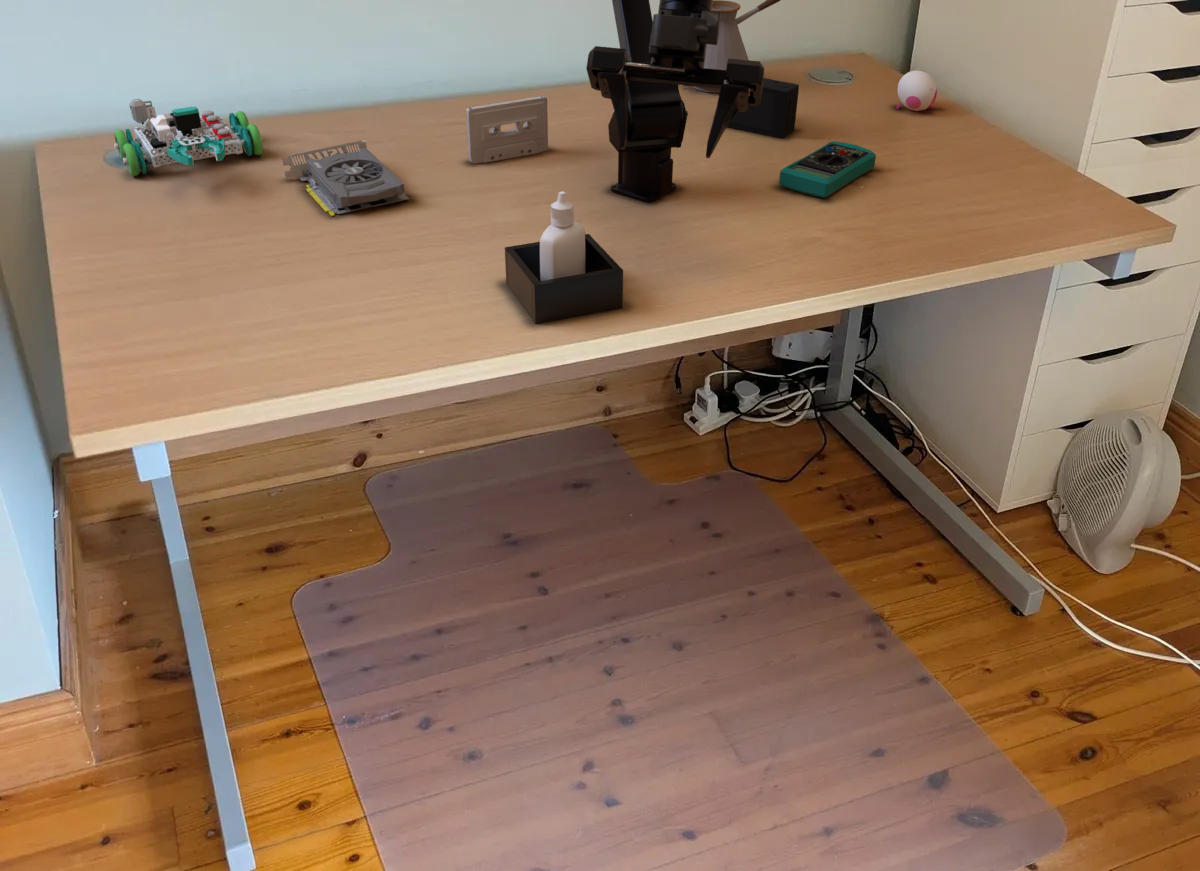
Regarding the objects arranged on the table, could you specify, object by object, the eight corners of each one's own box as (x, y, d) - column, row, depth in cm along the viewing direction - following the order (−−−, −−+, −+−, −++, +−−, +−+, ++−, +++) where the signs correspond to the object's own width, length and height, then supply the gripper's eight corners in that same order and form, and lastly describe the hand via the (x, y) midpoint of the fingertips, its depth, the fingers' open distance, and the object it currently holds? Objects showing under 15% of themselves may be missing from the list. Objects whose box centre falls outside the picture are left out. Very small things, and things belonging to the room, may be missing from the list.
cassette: (472, 165, 157) (469, 111, 153) (467, 161, 158) (463, 107, 154) (550, 151, 162) (549, 98, 158) (544, 147, 163) (543, 94, 159)
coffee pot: (701, 100, 181) (707, 2, 173) (668, 80, 190) (672, -14, 181) (813, 84, 189) (824, -11, 180) (776, 65, 197) (785, -26, 189)
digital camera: (798, 128, 171) (803, 81, 167) (783, 138, 167) (788, 91, 163) (736, 115, 175) (740, 70, 171) (720, 125, 172) (723, 79, 168)
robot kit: (148, 213, 143) (131, 141, 138) (112, 150, 161) (96, 84, 156) (293, 186, 151) (282, 117, 145) (243, 129, 169) (232, 65, 163)
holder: (506, 283, 127) (504, 247, 125) (588, 269, 131) (588, 233, 128) (535, 324, 120) (534, 285, 117) (622, 307, 123) (623, 270, 120)
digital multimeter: (876, 168, 157) (879, 148, 156) (825, 201, 148) (828, 179, 146) (829, 157, 161) (832, 136, 159) (776, 188, 151) (778, 166, 150)
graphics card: (279, 153, 151) (365, 136, 156) (284, 180, 153) (368, 162, 158) (318, 198, 139) (410, 178, 144) (323, 226, 141) (413, 206, 146)
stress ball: (926, 137, 177) (958, 103, 174) (889, 107, 175) (920, 73, 172) (918, 119, 184) (948, 86, 180) (881, 90, 181) (911, 56, 178)
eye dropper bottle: (532, 291, 126) (529, 189, 119) (579, 282, 128) (579, 181, 121) (546, 308, 123) (544, 204, 116) (594, 299, 124) (594, 196, 118)
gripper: (591, -32, 116) (569, 115, 115) (774, -16, 114) (754, 133, 112) (602, 19, 127) (582, 153, 126) (769, 34, 125) (751, 171, 124)
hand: (664, 152), depth 122 cm, fingers open, 9 cm apart
